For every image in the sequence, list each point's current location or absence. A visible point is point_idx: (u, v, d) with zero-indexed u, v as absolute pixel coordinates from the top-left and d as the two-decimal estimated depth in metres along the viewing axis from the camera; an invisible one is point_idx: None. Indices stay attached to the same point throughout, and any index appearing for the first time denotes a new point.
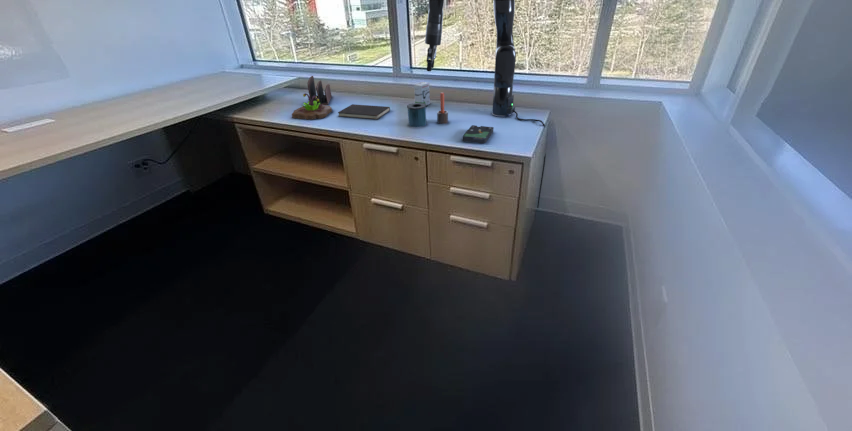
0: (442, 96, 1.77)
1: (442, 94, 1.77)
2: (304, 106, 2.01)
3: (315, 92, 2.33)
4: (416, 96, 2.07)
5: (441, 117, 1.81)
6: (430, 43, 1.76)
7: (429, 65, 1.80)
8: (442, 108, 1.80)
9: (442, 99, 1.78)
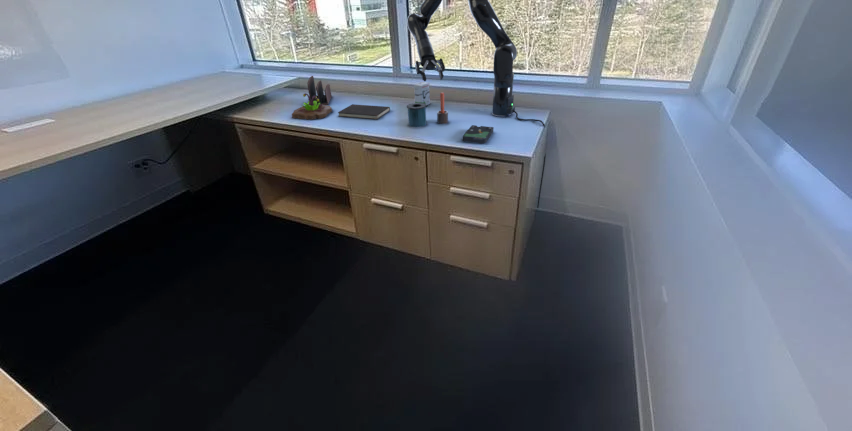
0: (442, 96, 1.77)
1: (442, 94, 1.77)
2: (304, 106, 2.01)
3: (315, 92, 2.33)
4: (416, 96, 2.07)
5: (441, 117, 1.81)
6: (420, 59, 1.86)
7: (422, 75, 1.84)
8: (442, 108, 1.80)
9: (442, 99, 1.78)
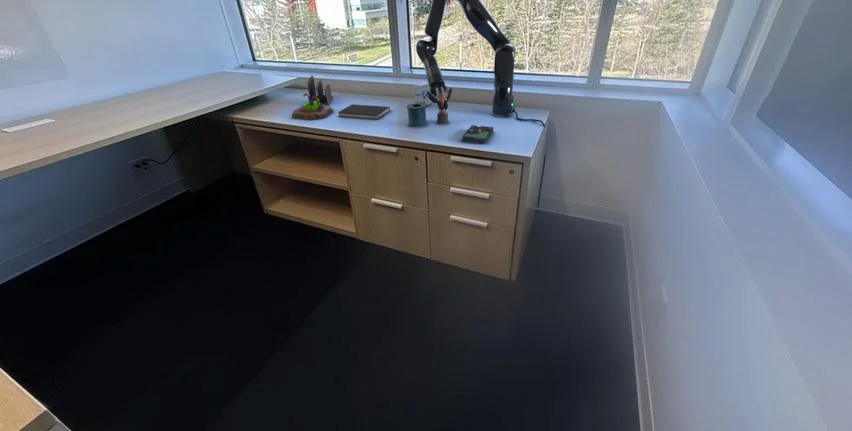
0: (442, 96, 1.77)
1: (442, 94, 1.77)
2: (304, 106, 2.01)
3: (315, 92, 2.33)
4: (416, 96, 2.07)
5: (441, 117, 1.81)
6: (429, 86, 1.82)
7: None
8: None
9: (442, 99, 1.78)
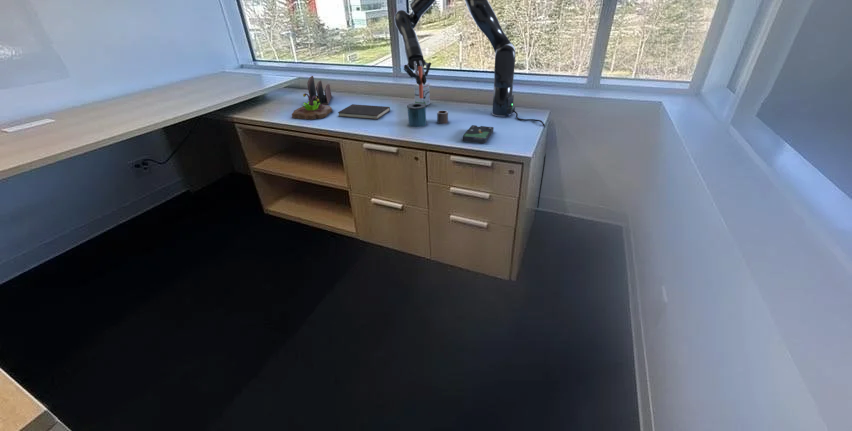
0: (420, 70, 1.70)
1: (420, 68, 1.70)
2: (304, 106, 2.01)
3: (315, 92, 2.33)
4: (416, 96, 2.07)
5: (441, 117, 1.81)
6: (407, 60, 1.74)
7: (416, 78, 1.72)
8: None
9: (420, 73, 1.71)
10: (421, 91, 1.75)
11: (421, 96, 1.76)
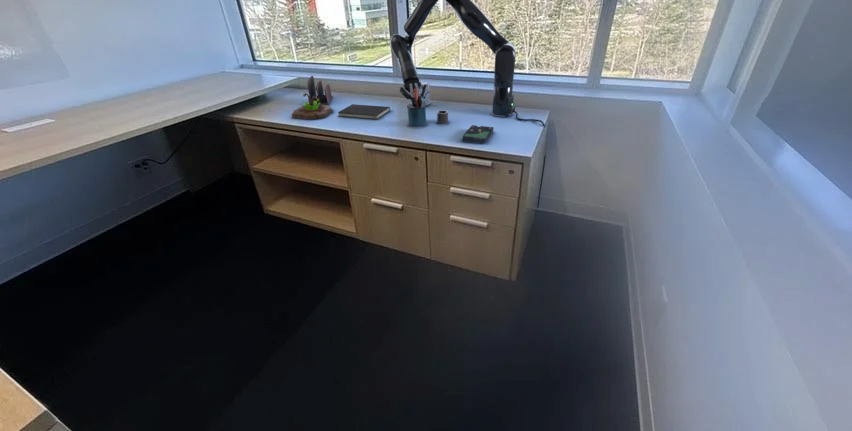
0: (415, 92, 1.75)
1: (415, 90, 1.74)
2: (304, 106, 2.01)
3: (315, 92, 2.33)
4: None
5: (441, 117, 1.81)
6: (403, 82, 1.79)
7: (412, 100, 1.77)
8: (416, 104, 1.78)
9: (416, 95, 1.76)
10: None
11: None
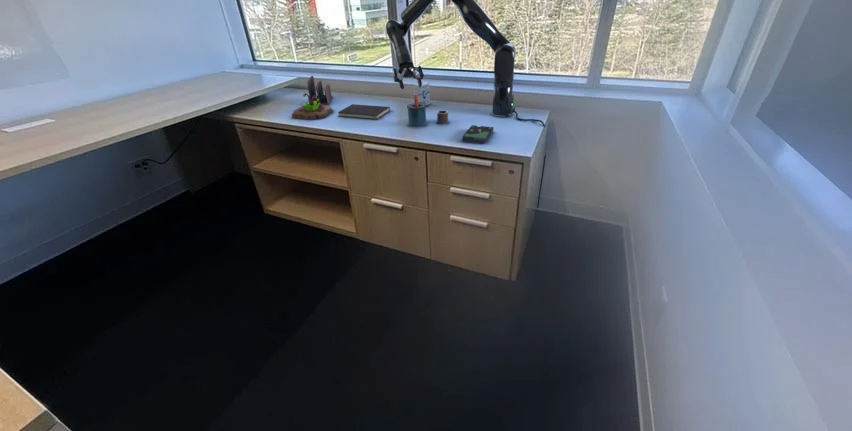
0: (416, 98, 1.76)
1: (416, 96, 1.76)
2: (304, 106, 2.01)
3: (315, 92, 2.33)
4: None
5: (441, 117, 1.81)
6: (398, 66, 1.82)
7: (400, 83, 1.79)
8: None
9: (416, 101, 1.77)
10: None
11: None
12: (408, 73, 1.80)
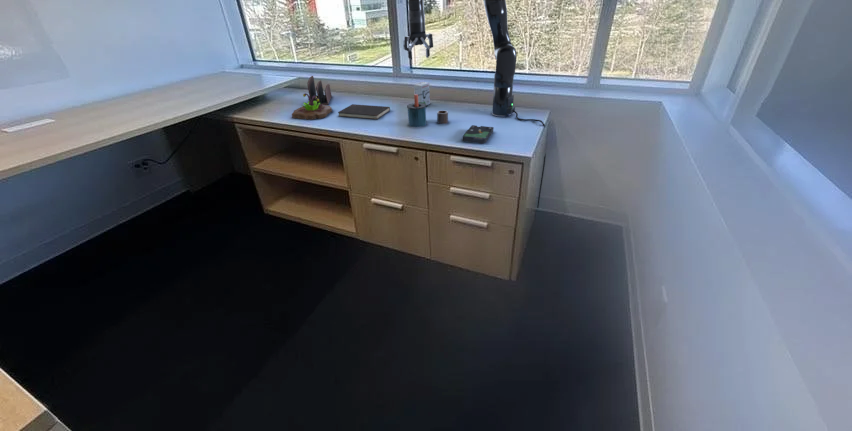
0: (416, 98, 1.76)
1: (416, 96, 1.76)
2: (304, 106, 2.01)
3: (315, 92, 2.33)
4: None
5: (441, 117, 1.81)
6: None
7: None
8: None
9: (416, 101, 1.77)
10: None
11: None
12: (418, 43, 1.79)
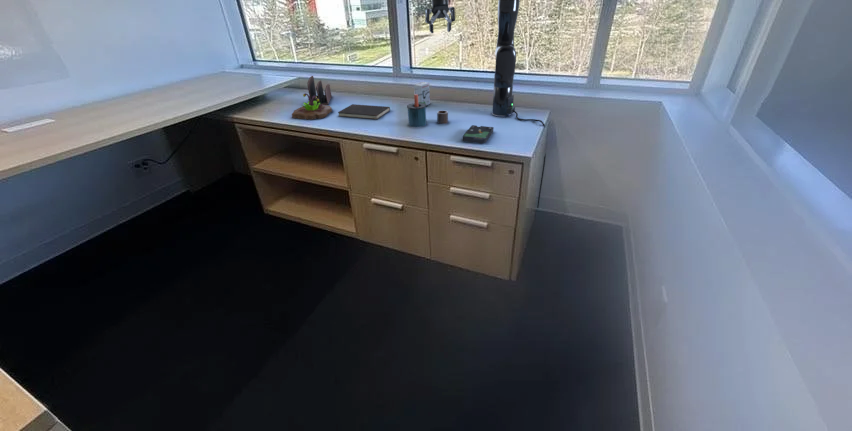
0: (416, 98, 1.76)
1: (416, 96, 1.76)
2: (304, 106, 2.01)
3: (315, 92, 2.33)
4: None
5: (441, 117, 1.81)
6: (432, 3, 1.74)
7: (430, 26, 1.78)
8: None
9: (416, 101, 1.77)
10: None
11: None
12: (440, 16, 1.77)
